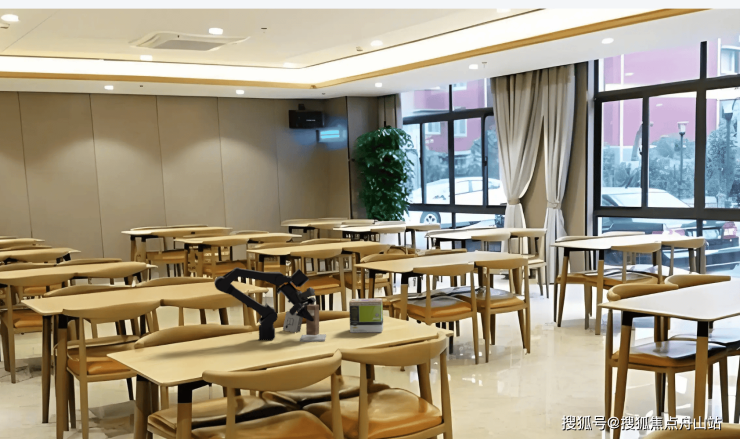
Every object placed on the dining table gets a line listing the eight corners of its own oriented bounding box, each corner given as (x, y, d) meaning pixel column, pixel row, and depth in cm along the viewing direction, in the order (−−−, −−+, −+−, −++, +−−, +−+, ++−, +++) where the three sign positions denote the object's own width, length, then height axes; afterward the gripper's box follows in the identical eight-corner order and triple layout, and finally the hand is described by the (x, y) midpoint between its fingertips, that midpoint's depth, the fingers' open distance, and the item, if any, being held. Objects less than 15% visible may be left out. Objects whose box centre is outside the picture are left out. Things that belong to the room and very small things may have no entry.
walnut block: (305, 335, 319) (305, 305, 319) (310, 333, 324) (310, 304, 323) (314, 335, 318) (314, 306, 317) (319, 333, 322) (319, 304, 322)
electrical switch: (282, 330, 341) (283, 311, 341) (290, 330, 345) (291, 310, 345) (295, 333, 335) (296, 313, 335) (303, 332, 338) (304, 312, 339)
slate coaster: (299, 341, 316) (299, 339, 315) (301, 336, 326) (301, 334, 326) (324, 341, 316) (324, 339, 316) (326, 336, 327) (326, 334, 327)
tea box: (383, 328, 341) (383, 297, 341) (381, 333, 331) (381, 301, 331) (352, 328, 343) (351, 298, 342) (349, 333, 333) (348, 301, 332)
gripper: (295, 285, 312) (319, 311, 309) (311, 279, 330) (334, 304, 327) (279, 302, 315) (302, 328, 312) (296, 296, 333) (318, 320, 330)
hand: (315, 319), depth 320 cm, fingers closed on walnut block, 5 cm apart
